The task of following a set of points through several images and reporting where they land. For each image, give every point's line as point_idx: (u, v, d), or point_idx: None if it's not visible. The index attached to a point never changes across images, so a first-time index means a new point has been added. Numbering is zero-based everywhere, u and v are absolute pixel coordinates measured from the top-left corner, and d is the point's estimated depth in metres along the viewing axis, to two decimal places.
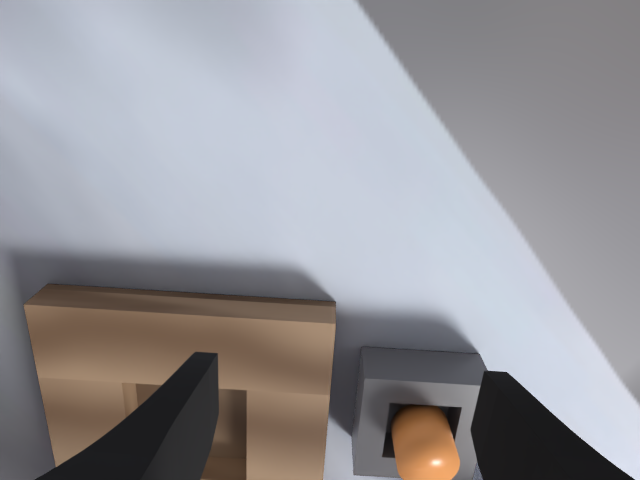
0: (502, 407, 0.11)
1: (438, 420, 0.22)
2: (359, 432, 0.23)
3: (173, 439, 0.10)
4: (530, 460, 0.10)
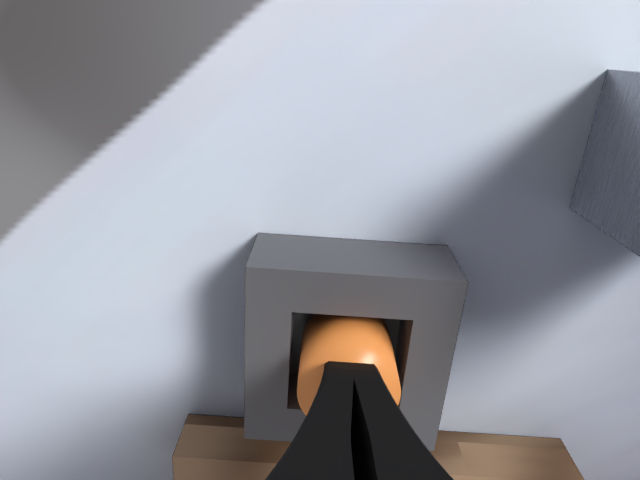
0: (354, 397, 0.11)
1: (304, 343, 0.14)
2: None
3: None
4: (363, 449, 0.10)
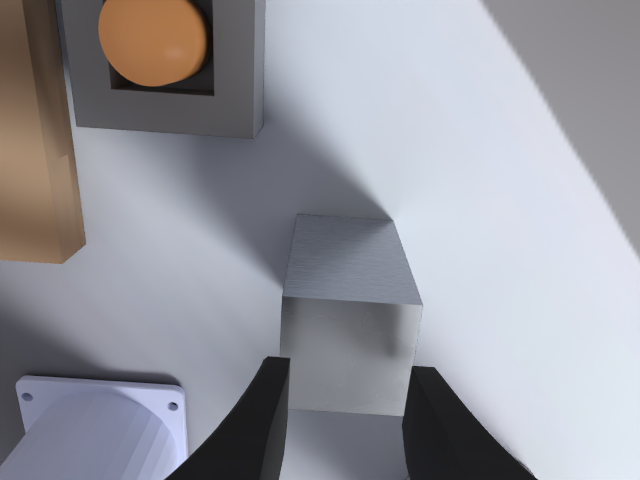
0: (422, 402, 0.11)
1: None
2: (66, 37, 0.15)
3: (269, 445, 0.10)
4: (439, 454, 0.10)
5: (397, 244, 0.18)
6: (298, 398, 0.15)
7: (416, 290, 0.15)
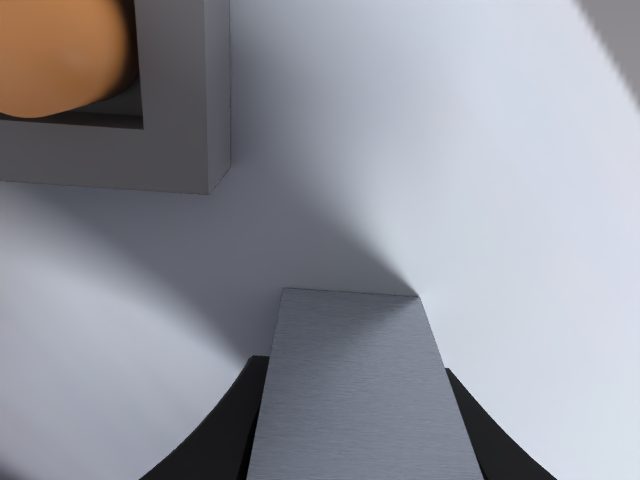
0: None
1: None
2: None
3: (250, 443, 0.10)
4: None
5: (431, 347, 0.12)
6: None
7: (476, 467, 0.09)
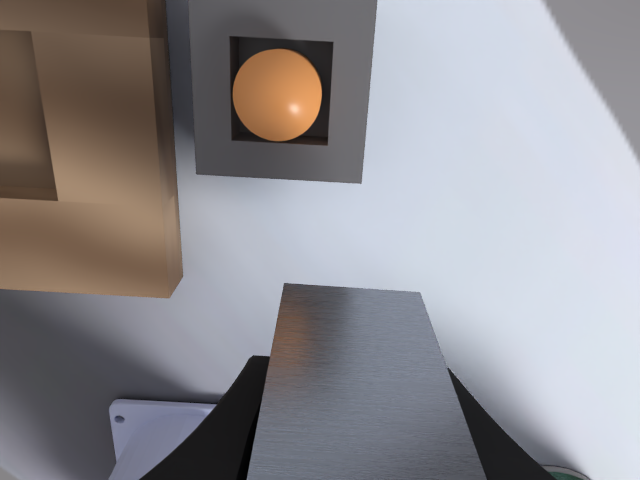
0: None
1: (298, 53, 0.16)
2: (193, 94, 0.16)
3: (249, 444, 0.10)
4: None
5: (431, 341, 0.12)
6: None
7: (476, 457, 0.09)
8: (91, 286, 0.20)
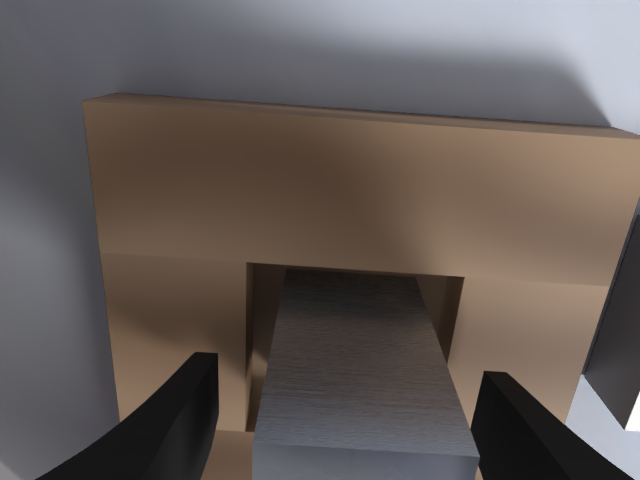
0: (502, 407, 0.11)
1: None
2: None
3: (173, 439, 0.10)
4: (530, 460, 0.10)
5: (425, 320, 0.13)
6: None
7: (464, 419, 0.09)
8: None
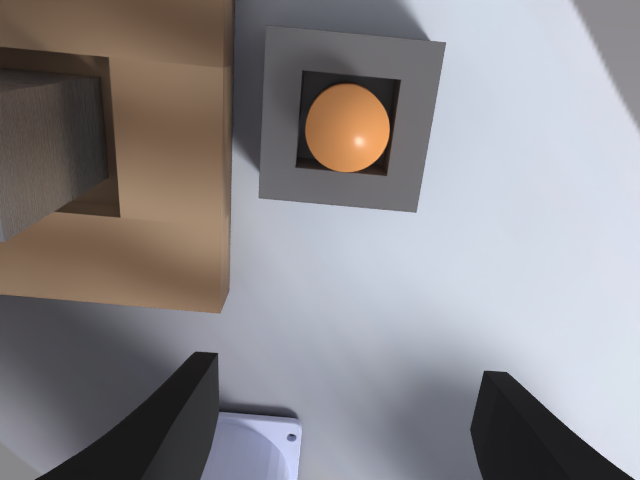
0: (502, 407, 0.11)
1: (365, 88, 0.17)
2: (262, 123, 0.17)
3: (173, 439, 0.10)
4: (530, 460, 0.10)
5: (63, 81, 0.16)
6: None
7: (0, 92, 0.13)
8: (145, 299, 0.21)
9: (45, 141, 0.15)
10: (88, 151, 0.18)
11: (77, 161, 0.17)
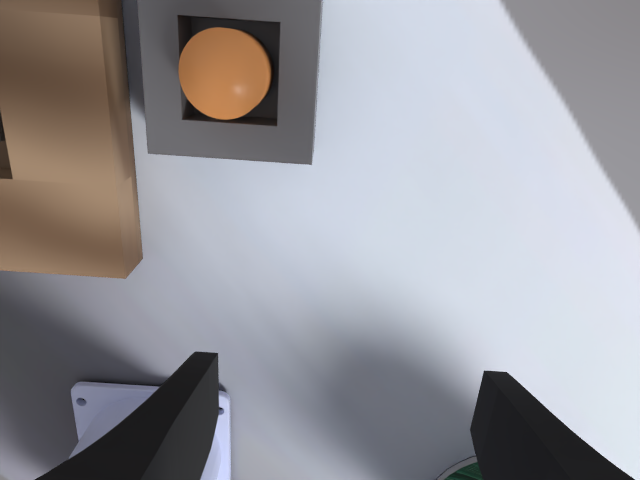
0: (502, 407, 0.11)
1: (246, 32, 0.16)
2: (143, 73, 0.17)
3: (173, 438, 0.10)
4: (530, 460, 0.10)
5: None
6: None
7: None
8: (48, 265, 0.20)
9: None
10: None
11: None
